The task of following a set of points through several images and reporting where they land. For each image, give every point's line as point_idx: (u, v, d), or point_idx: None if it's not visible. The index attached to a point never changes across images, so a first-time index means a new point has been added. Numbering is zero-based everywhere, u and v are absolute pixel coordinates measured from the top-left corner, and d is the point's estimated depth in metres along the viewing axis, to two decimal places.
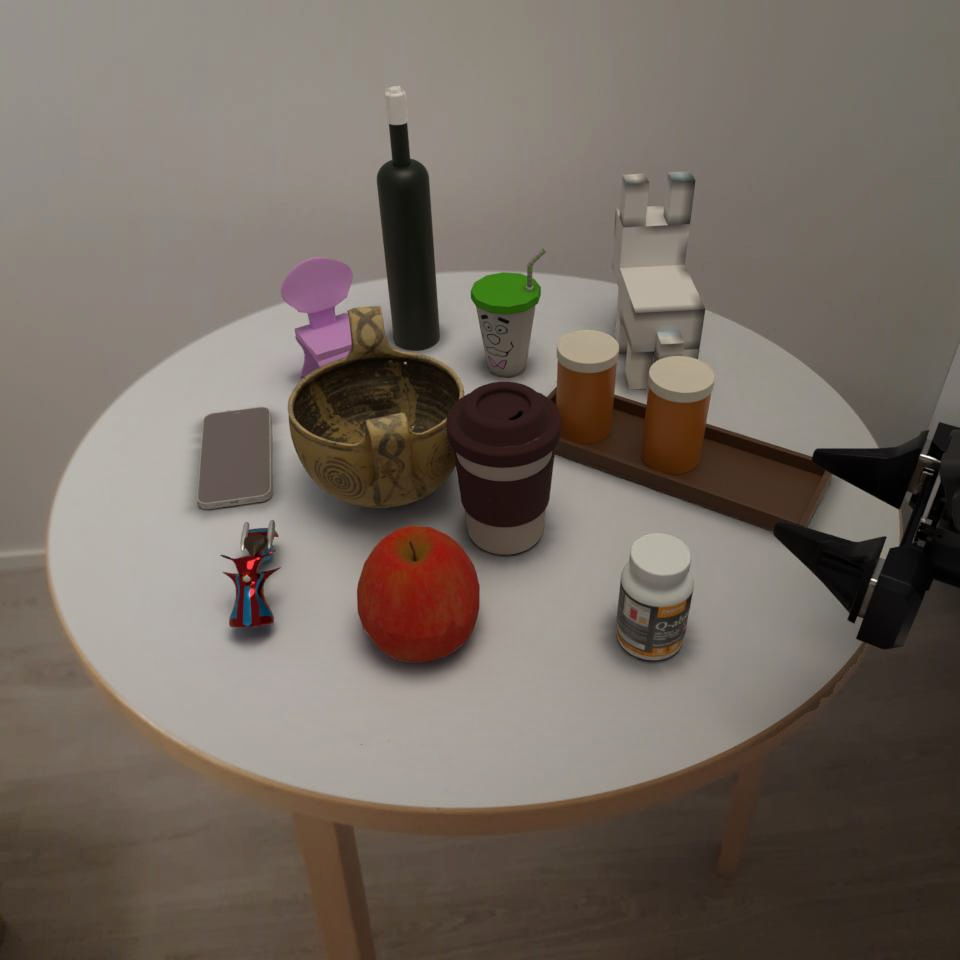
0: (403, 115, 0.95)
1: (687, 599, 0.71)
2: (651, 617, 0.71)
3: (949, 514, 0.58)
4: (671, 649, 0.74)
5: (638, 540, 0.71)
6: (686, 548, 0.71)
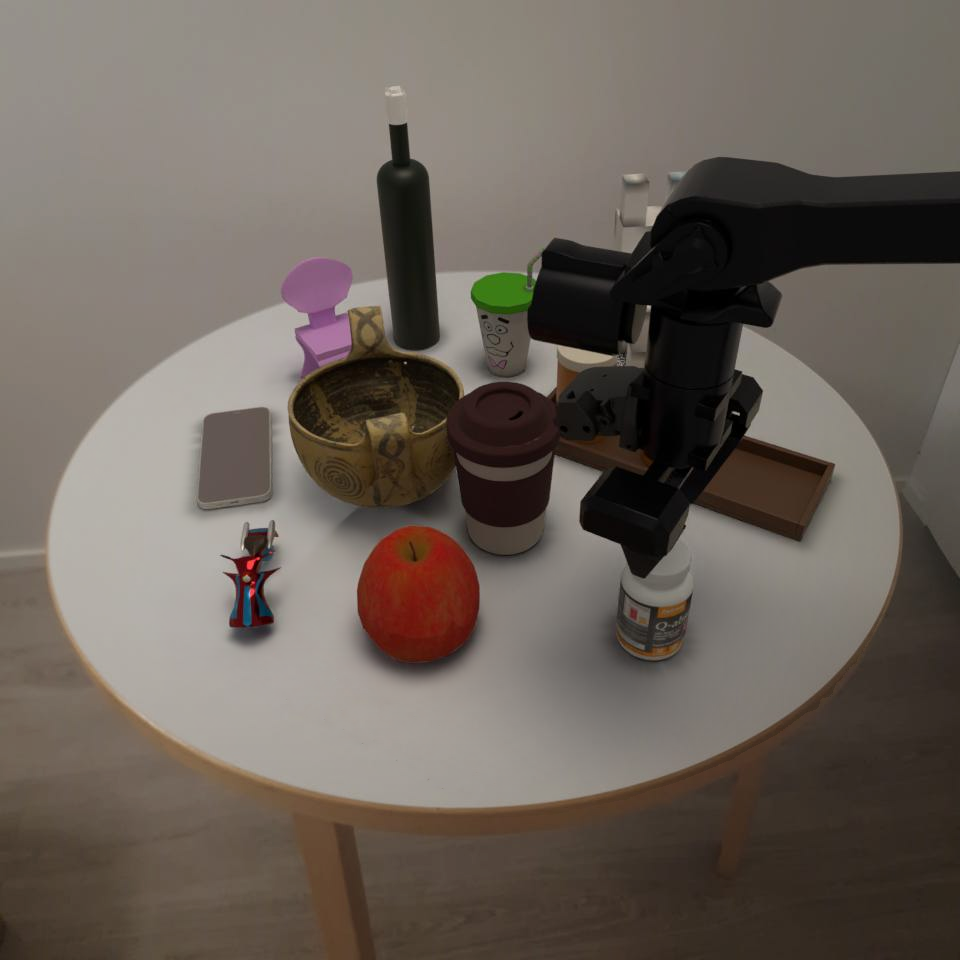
0: (403, 115, 0.95)
1: (687, 599, 0.71)
2: (651, 617, 0.71)
3: (610, 435, 0.63)
4: (671, 649, 0.74)
5: None
6: (686, 548, 0.71)
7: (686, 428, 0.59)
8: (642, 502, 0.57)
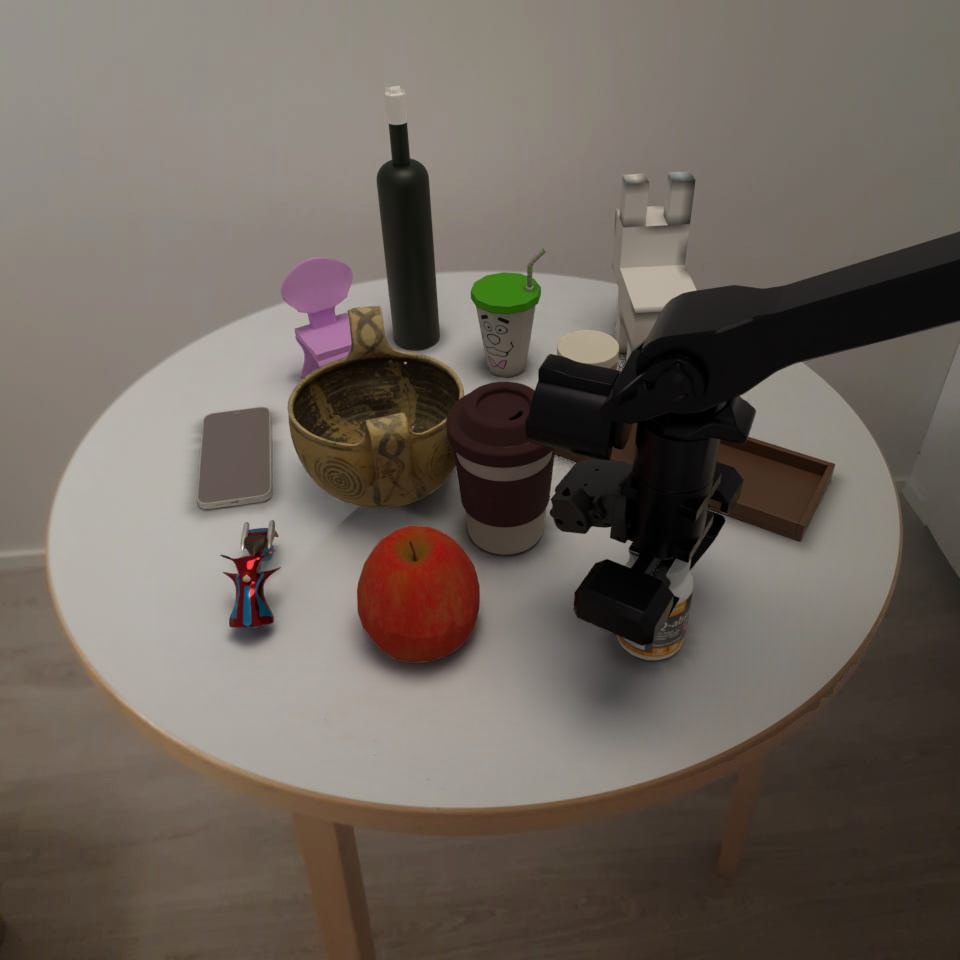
0: (403, 115, 0.95)
1: (687, 599, 0.71)
2: None
3: (602, 526, 0.68)
4: (671, 649, 0.74)
5: None
6: None
7: (670, 525, 0.64)
8: (630, 595, 0.63)
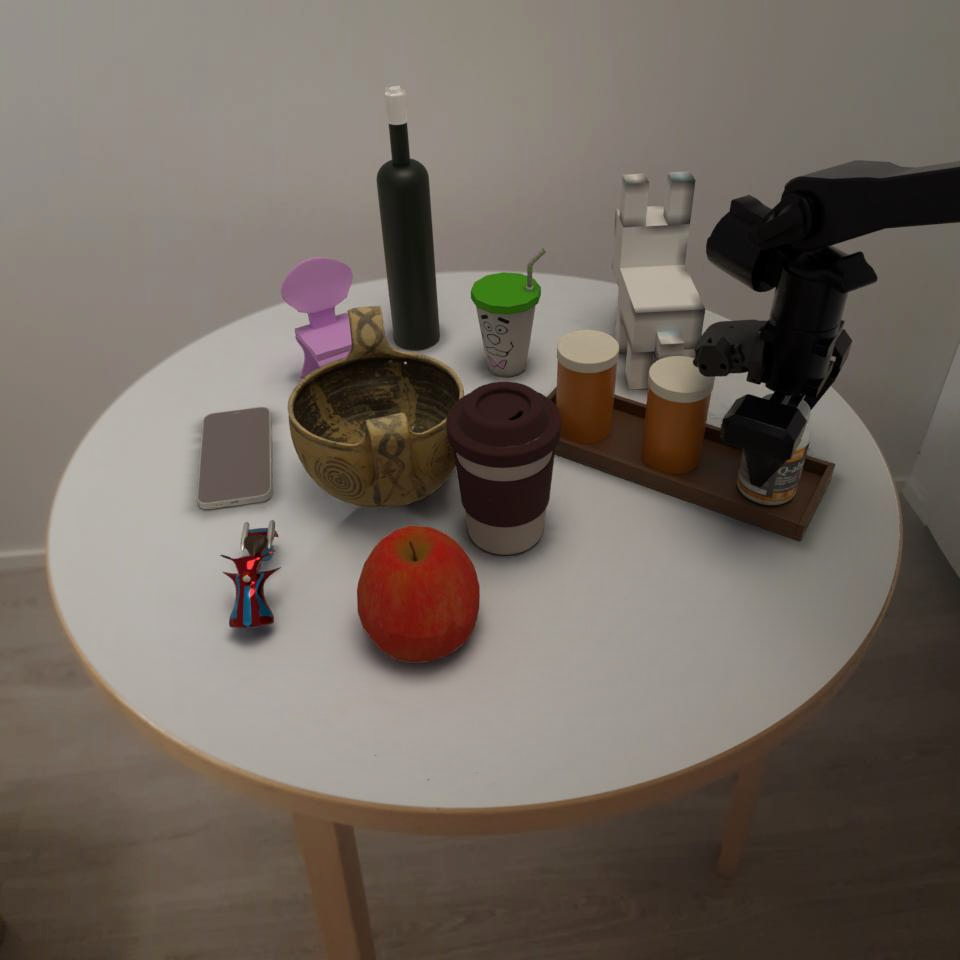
0: (403, 115, 0.95)
1: (806, 447, 0.84)
2: None
3: (738, 372, 0.81)
4: (788, 494, 0.87)
5: None
6: (805, 403, 0.83)
7: (803, 363, 0.77)
8: (772, 418, 0.75)
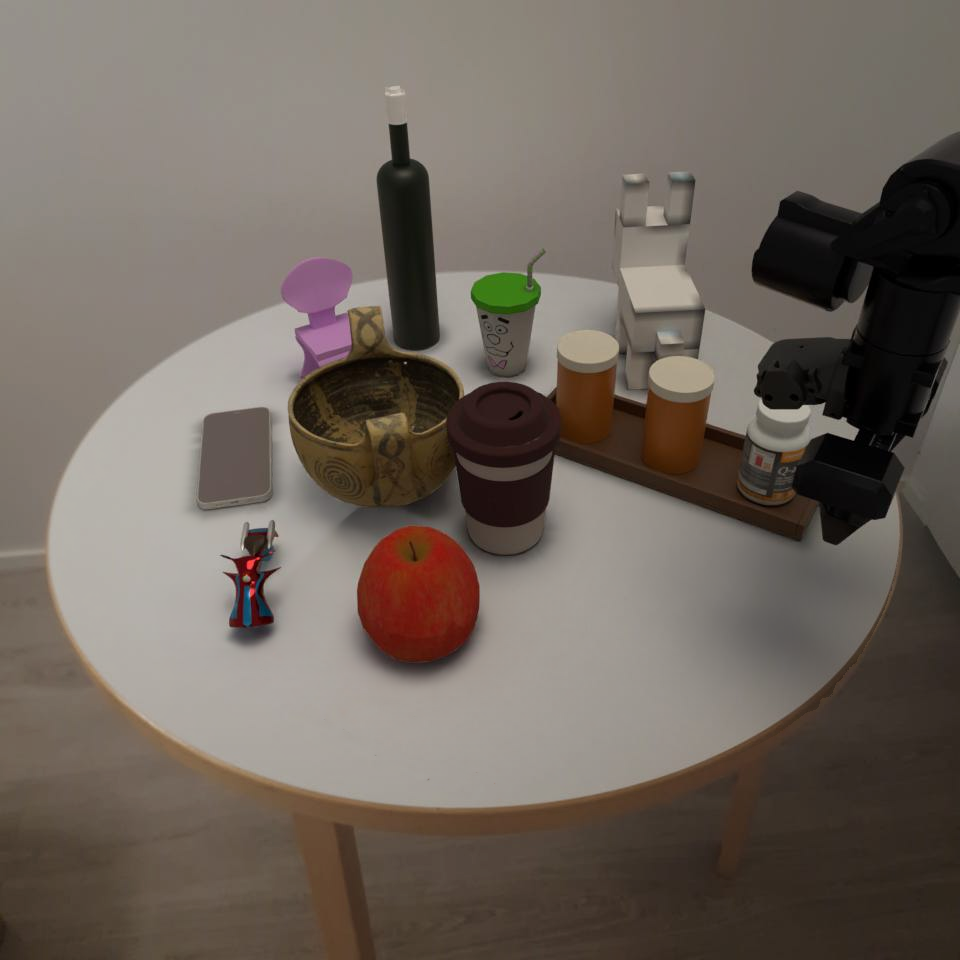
0: (403, 115, 0.95)
1: (806, 447, 0.84)
2: (775, 462, 0.84)
3: (812, 403, 0.64)
4: (788, 494, 0.87)
5: None
6: None
7: (899, 394, 0.60)
8: (862, 466, 0.59)
